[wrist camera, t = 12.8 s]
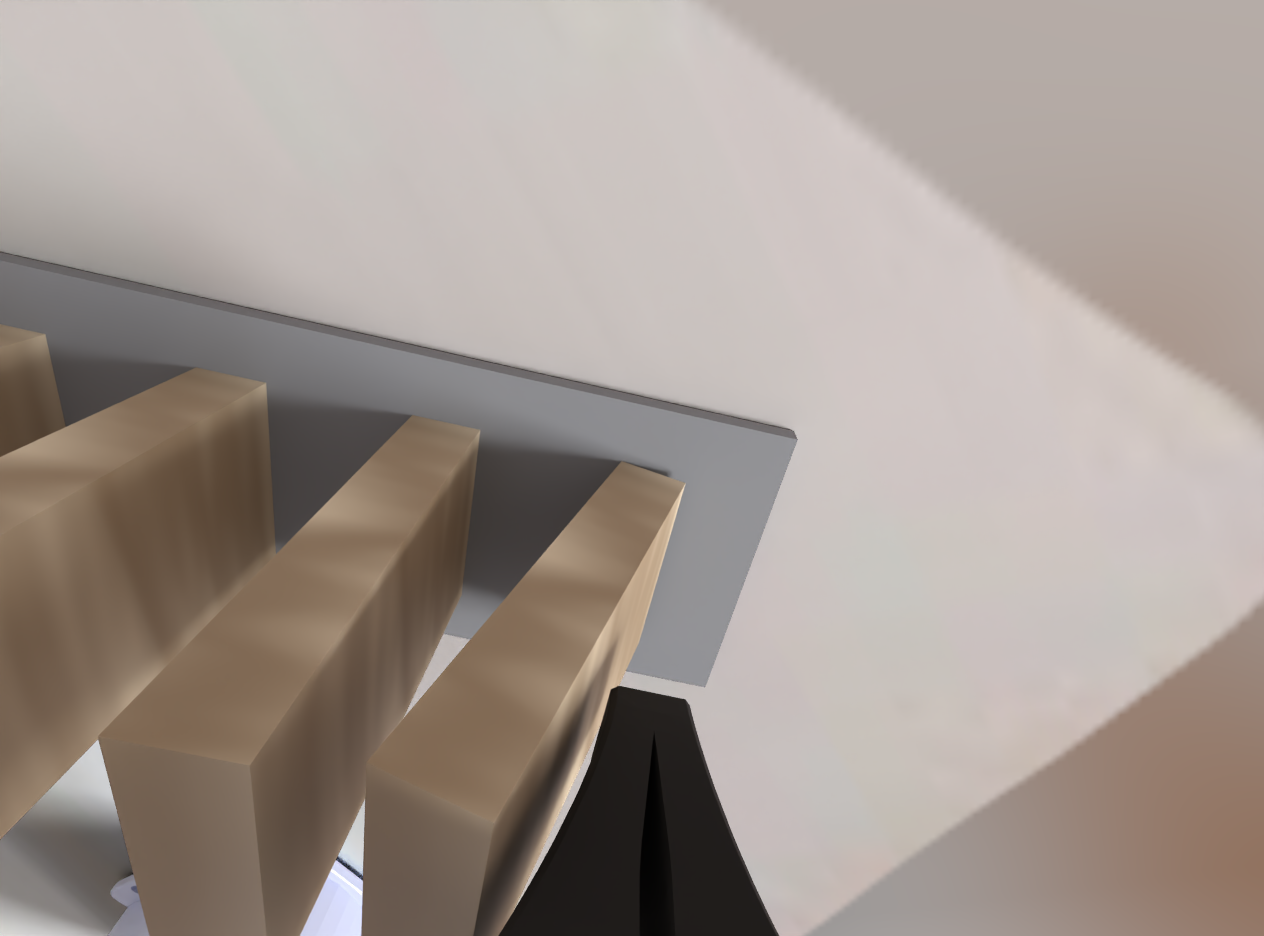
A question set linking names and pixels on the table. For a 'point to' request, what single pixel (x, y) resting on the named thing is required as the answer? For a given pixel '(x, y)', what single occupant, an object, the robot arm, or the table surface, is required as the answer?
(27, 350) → the maple domino
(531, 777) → the maple domino
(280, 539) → the mat
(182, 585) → the maple domino
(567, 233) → the table surface
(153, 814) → the maple domino
